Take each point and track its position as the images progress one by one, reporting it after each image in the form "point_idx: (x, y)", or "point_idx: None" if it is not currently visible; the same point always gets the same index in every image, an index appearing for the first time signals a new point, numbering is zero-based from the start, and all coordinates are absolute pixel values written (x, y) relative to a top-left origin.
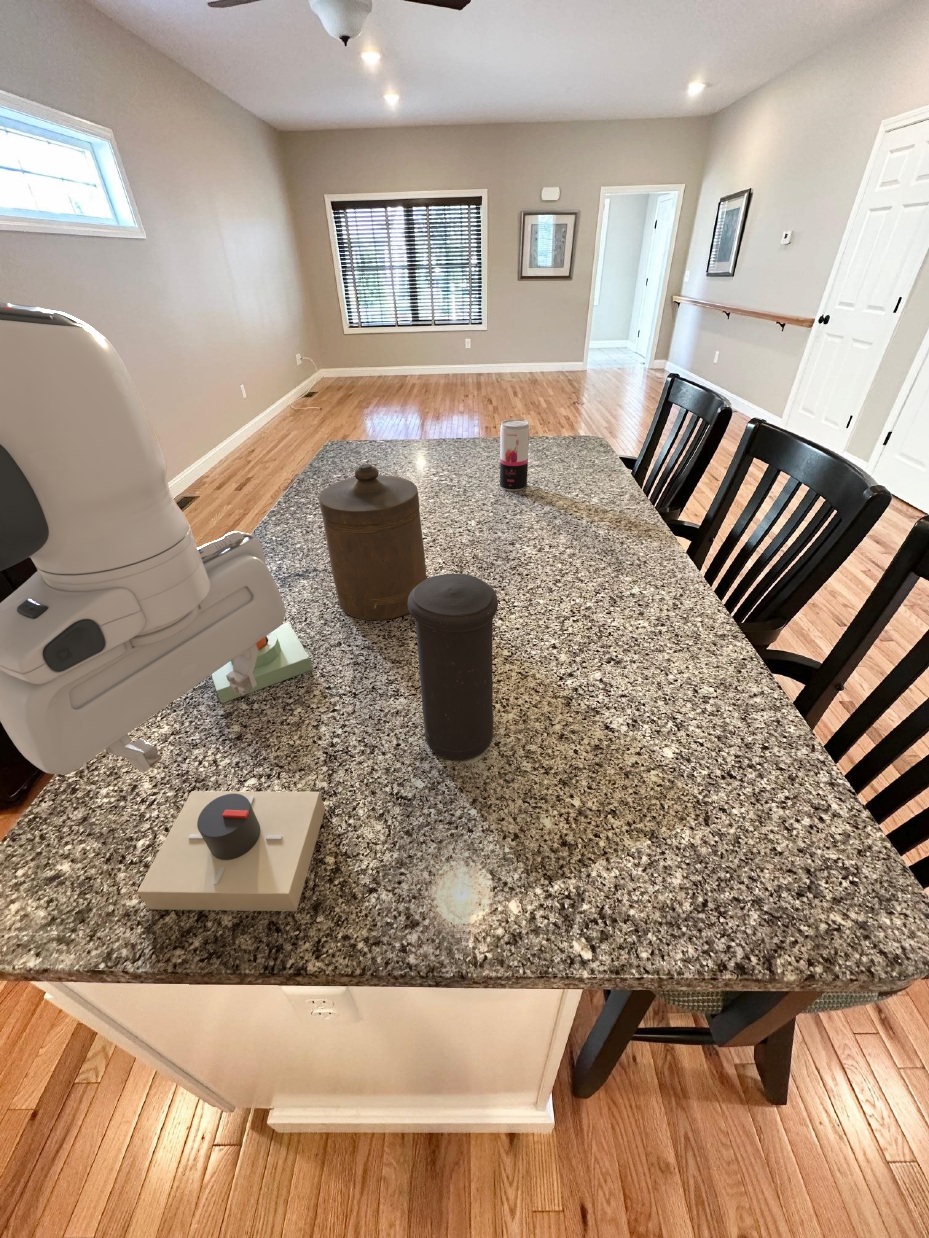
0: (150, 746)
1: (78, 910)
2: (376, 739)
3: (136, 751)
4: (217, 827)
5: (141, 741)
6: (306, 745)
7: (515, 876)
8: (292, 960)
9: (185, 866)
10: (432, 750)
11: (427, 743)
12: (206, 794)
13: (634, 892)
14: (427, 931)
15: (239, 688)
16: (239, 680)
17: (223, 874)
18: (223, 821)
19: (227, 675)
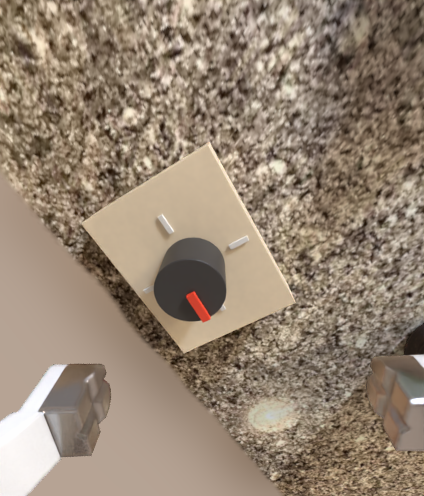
0: (82, 449)
1: (37, 135)
2: (410, 266)
3: (33, 484)
4: (171, 301)
5: (71, 424)
6: (368, 187)
7: (303, 436)
8: (158, 350)
9: (135, 245)
10: (411, 336)
11: (421, 328)
12: (216, 172)
13: (326, 487)
14: (233, 410)
15: (380, 403)
16: (401, 448)
17: None
18: (182, 300)
19: (413, 407)
